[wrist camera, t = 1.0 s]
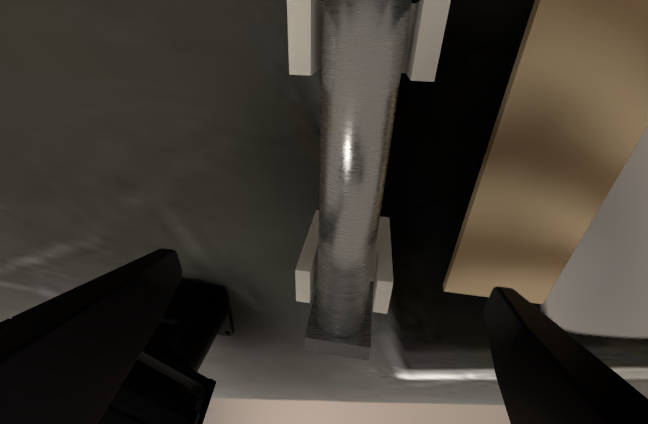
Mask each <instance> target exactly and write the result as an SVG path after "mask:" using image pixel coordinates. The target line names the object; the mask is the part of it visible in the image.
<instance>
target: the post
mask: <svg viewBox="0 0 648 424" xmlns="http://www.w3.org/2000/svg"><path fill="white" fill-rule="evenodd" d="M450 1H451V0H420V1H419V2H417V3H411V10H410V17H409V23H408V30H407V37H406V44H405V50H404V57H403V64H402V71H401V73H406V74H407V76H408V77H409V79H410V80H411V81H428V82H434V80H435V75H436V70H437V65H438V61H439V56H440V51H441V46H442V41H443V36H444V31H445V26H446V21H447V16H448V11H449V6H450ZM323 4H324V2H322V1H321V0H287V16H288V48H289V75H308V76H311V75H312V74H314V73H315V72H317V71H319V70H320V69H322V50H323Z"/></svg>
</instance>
